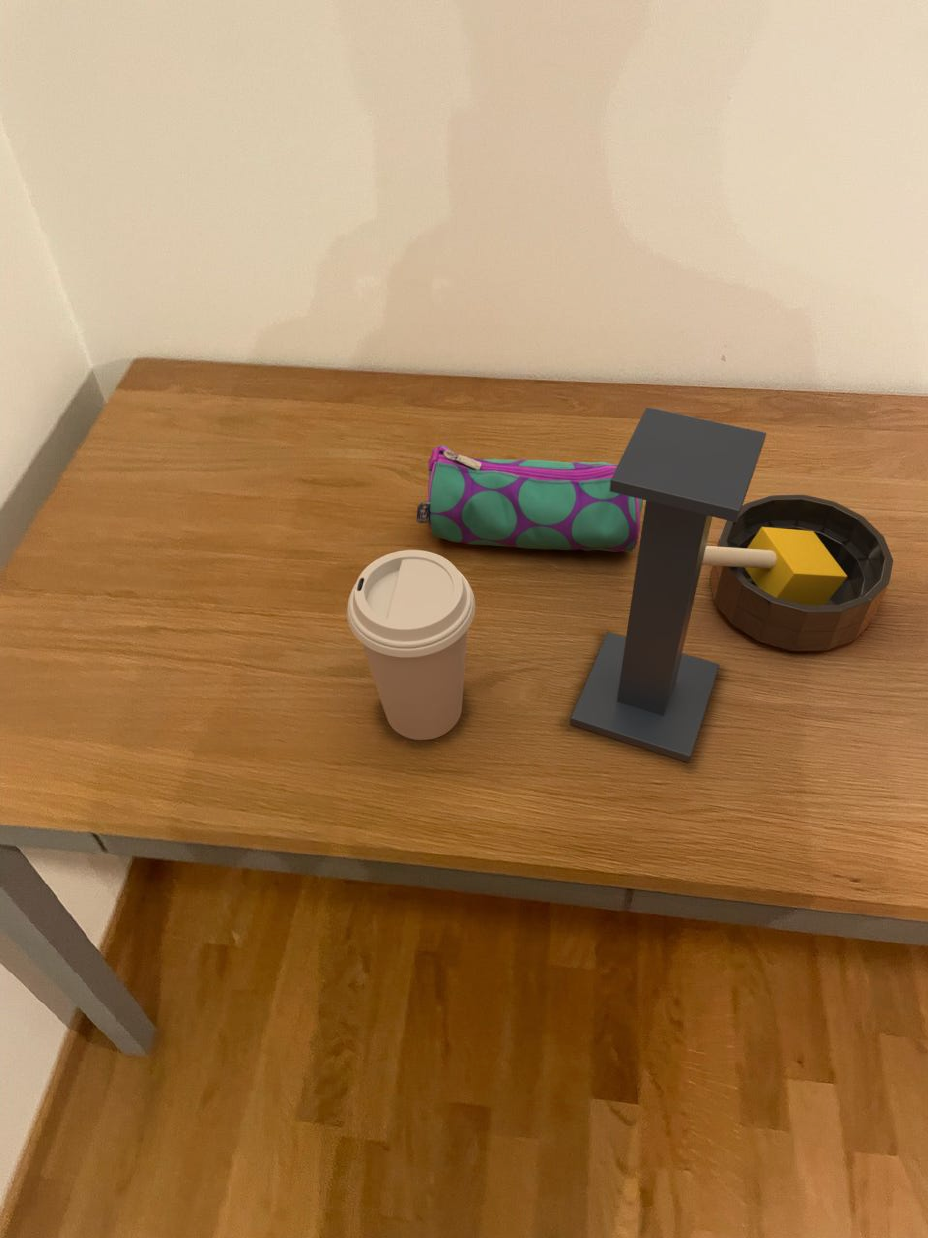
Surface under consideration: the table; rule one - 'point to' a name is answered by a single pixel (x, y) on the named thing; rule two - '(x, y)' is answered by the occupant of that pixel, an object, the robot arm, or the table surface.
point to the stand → (667, 580)
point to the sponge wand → (785, 565)
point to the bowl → (793, 622)
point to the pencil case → (528, 504)
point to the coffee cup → (414, 638)
